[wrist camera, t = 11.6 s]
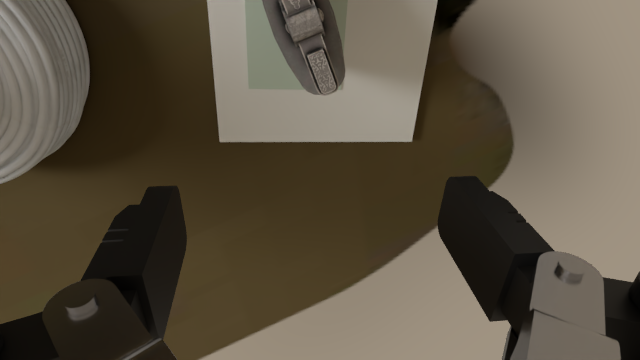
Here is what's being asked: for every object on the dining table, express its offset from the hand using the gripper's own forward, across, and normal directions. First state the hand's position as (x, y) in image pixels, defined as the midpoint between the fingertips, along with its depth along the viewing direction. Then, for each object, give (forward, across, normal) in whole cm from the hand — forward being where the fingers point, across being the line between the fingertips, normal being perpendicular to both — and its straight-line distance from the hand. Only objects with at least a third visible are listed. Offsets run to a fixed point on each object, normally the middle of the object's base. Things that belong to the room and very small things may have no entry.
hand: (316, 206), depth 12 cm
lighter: (+20, -1, -3) cm, 20 cm away
